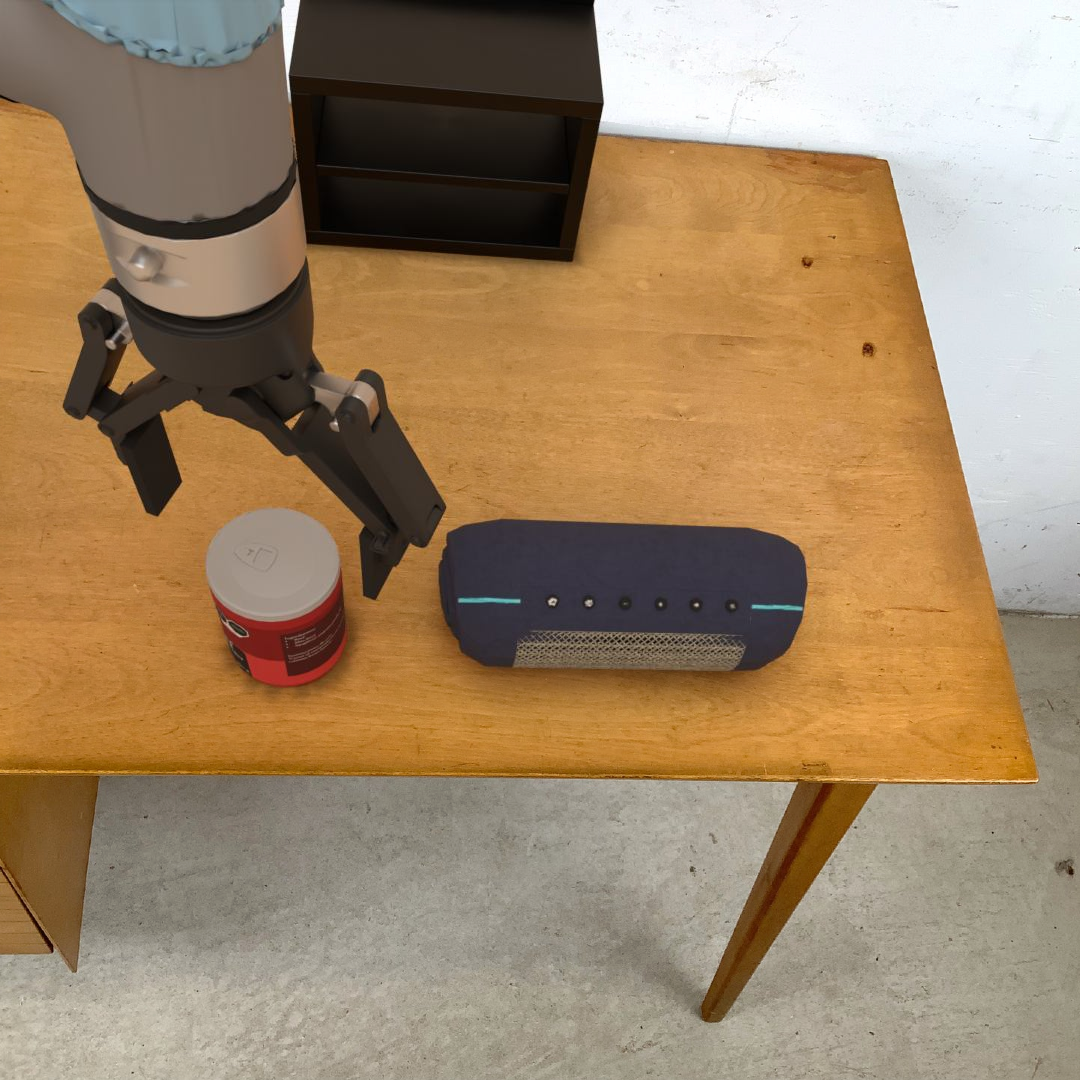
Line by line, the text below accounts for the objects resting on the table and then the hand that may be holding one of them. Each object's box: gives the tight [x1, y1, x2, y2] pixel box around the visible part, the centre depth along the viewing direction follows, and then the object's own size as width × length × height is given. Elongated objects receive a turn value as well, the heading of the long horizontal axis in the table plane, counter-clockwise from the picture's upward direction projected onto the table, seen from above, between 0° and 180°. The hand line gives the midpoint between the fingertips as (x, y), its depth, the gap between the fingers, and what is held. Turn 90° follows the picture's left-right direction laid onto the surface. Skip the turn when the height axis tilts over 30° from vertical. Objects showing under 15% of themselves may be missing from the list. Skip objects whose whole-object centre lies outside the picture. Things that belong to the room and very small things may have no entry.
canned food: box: [204, 507, 347, 688], centre depth 65 cm, size 8×8×11 cm
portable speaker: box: [438, 518, 809, 672], centre depth 69 cm, size 25×10×10 cm, turn 92°
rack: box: [288, 0, 605, 263], centre depth 87 cm, size 14×24×18 cm, turn 92°
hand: (271, 538), depth 58 cm, fingers open, 13 cm apart
